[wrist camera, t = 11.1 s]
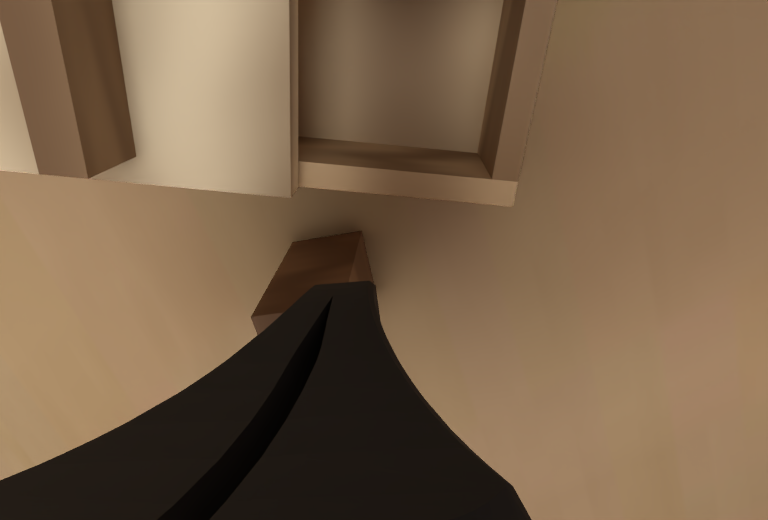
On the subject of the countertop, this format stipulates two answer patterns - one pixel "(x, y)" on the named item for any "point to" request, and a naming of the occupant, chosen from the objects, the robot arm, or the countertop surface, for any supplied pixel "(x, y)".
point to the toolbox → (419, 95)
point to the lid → (152, 92)
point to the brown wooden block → (312, 272)
